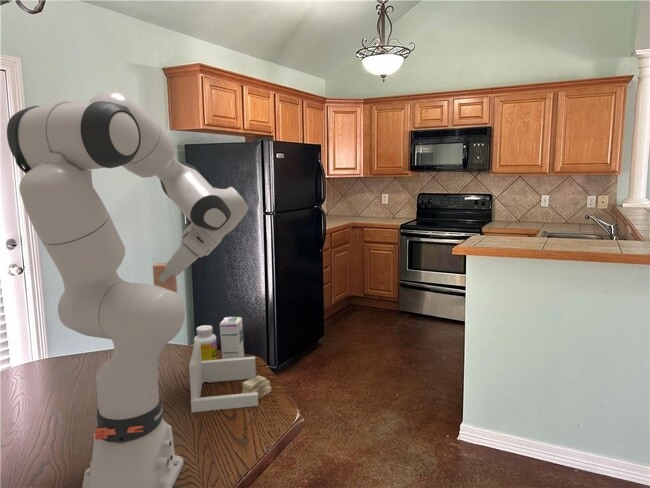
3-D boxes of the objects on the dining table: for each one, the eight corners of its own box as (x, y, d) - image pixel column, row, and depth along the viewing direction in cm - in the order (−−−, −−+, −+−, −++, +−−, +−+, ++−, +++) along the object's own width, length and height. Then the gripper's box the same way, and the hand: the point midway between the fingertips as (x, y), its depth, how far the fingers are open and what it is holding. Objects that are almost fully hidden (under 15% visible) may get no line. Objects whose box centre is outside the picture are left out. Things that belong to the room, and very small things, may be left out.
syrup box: (241, 368, 142) (239, 322, 139) (221, 368, 142) (219, 322, 139) (244, 360, 147) (242, 316, 145) (226, 360, 147) (223, 316, 145)
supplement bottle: (214, 372, 139) (212, 331, 137) (192, 372, 139) (190, 331, 137) (220, 363, 145) (218, 323, 143) (198, 363, 145) (196, 324, 143)
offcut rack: (258, 405, 119) (256, 361, 117) (191, 412, 117) (188, 367, 115) (255, 375, 136) (254, 336, 134) (197, 381, 134) (195, 341, 132)
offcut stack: (250, 404, 121) (249, 387, 120) (239, 399, 123) (238, 383, 122) (271, 391, 127) (271, 376, 126) (260, 387, 130) (259, 372, 129)
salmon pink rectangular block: (176, 317, 122) (173, 265, 120) (156, 319, 122) (152, 266, 119) (178, 313, 126) (175, 262, 124) (159, 314, 125) (155, 263, 123)
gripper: (194, 226, 132) (160, 262, 132) (185, 236, 112) (144, 278, 112) (211, 242, 133) (177, 277, 133) (205, 254, 113) (165, 295, 113)
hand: (162, 277), depth 122 cm, fingers closed on salmon pink rectangular block, 4 cm apart
